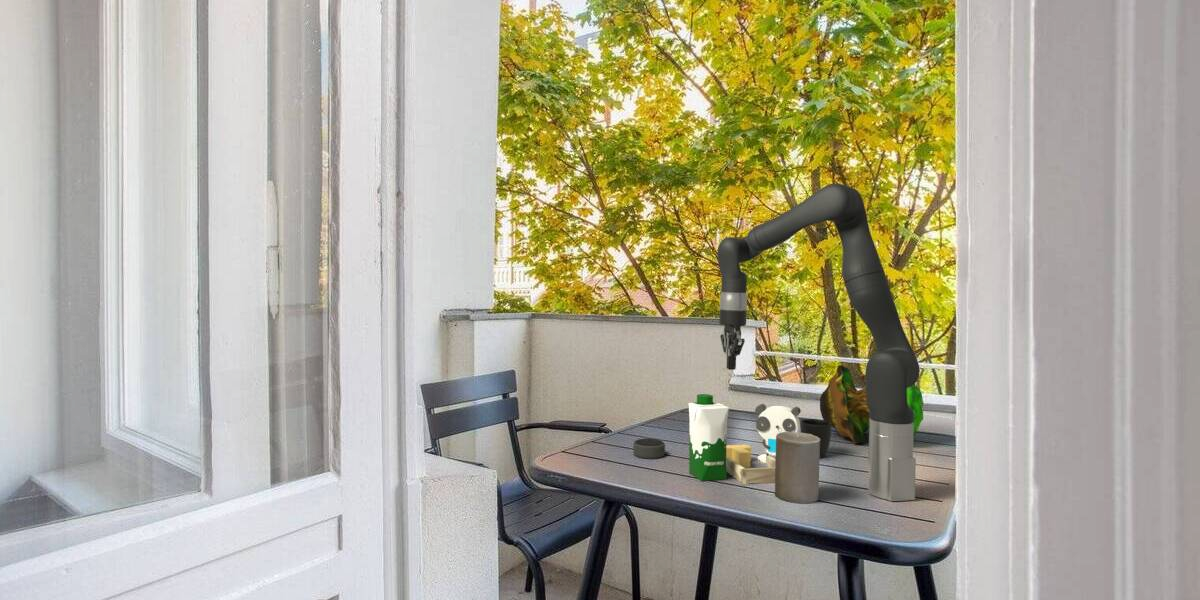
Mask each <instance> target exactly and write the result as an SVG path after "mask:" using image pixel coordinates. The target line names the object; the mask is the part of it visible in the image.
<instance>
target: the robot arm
mask: <svg viewBox="0 0 1200 600" xmlns="http://www.w3.org/2000/svg"><path fill="white" fill-rule="evenodd" d="M827 221H829V222H832V223H833V224H834V226H835V228H836V230H837V233H838V236H839V239H840V242H841V246H842V263H841V264H842V265H841V269H842V270H841V273H842V280H843V284H844V286H845V289H846V293H847V296H848V299H849V302H850V303H851V306H852V307H853V309H854V310H855V312H856V313H857V315H858V316H859V317H860V319H861V320H862V321H863V323H864V324H865V325H866V327H867V329H868V331H869V332H870V333H871V336H872V339H873V342H874V344H875V347H876V353H874V354H872V356H871V357H869V359H868V361H867V363H866V366H865V378H864V379H865V385H866V403H867V407H868V409H869V428H868V429H869V430H868V469H867V470H868V471H867V472H868V473H867V474H868V478H867V479H868V483H867V485H868V486H867V488H868V489H867V491H868V493H869V494H870V495H872V496H874V497H877V498H880V499H884V500H888V501H890V502H896V501H897V502H900V501H901V502H902V501H903V502H904V501H915V500H916V465H917V464H916V463H917V461H916V460H917V459H916V458H915V457H914V437H913V434H914V412H913V410H912V409H911V408H910V407H909V406H908V403H907V388H909V387H911V386H913V385H914V384H915V385H916V383H918V380H919V378H920V374H921V373H920V372H921V371H920V370H921V369H920V368H921V367H920V364H919V361H918V359H917V357H916V354H915V352H914V350H913V348H912V346H911V343H910V341H909V339H908V337H907V335H906V333H905V331H904V328H903V326H902V323H901V319H900V317H899V313H898V309H897V307H896V304H895V300H894V297H893V295H892V291H891V288H890V285H889V281H888V278H887V275H886V272H885V270H884V268H883V265H882V263H881V259H880V257H879V253H878V250H877V248H876V246H875V245H876V244H875V242H874V240H873V237H872V233H871V231H870V225H869V222H868V221H869V220H868V218H867V212H866V207H865V202H864V199H863V197H862V195H861V193H860V192H859V191H858V190H857V189H856V188H854V187H852V186H848V185H845V184H842V183H835V182H834V183H830V184H826V185H825V186H823V187H822V188H820V189H817V191H815V192H813V193H812V194H811V195H810V196H808V197H807V198H806V199H804V200H803V201H801V202H800V203H798V204H796V205H795V206H794V207H792V208H790V209H789V210H787V211H785V212H783V213H781V214H779V215H778V216H775V217H774V218H771V219H769V220H766V221H764V222H763V223H761V224H758V225H757V226H755V227H753V228H751V229H750V230H749V231H748V233H747V235H746V236H743V237H732V236H729V237H725V238H723V239H722V240H721V241H720V242H719V244H718V247H717V253H716V255H717V261H718V267H719V272H720V275H721V282H720V283H721V286H720V287H721V288H720V289H721V290H720V298H719V320H718V322H719V325H721V326H723V334H720V341H721V345H722V351H723V353H724V354H725V356H726V369H727V370H730V371H731V370H733V371H734V370H736V369H737V367H736V366H737V357H738V356H740V355H741V352H742V349H743V347H744V345H745V342H746V341H745V340H746V339H745V338H742V330H741V329H742V328H741V327H745V326H746V325H747V317H748V316H747V314H748V311H747V310H748V308H747V307H748V299H747V295H748V294H747V288H748V287H747V286H748V281H747V280H748V276H747V274H746V273H745V272H743V271H742V270H741V266H740V264H743V263H747V262H750V261H751V260H753V259H755V258H756V257H757V256H759V255H760V254H761V253H763V252H765V251H768V250H771V249H772V248H775V247H776V246H777V247H778V246H779V245H781V244H783V243H784V242H787V241H788V240H790V239H791V238H793V236H794V235H796V234H797V233H798V232H800V231H801V230H804V229H805V228H807V227H809V226H813V225H815V224H819V223H822V222H827Z"/></svg>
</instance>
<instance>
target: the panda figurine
mask: <svg viewBox="0 0 1200 600" xmlns="http://www.w3.org/2000/svg"><path fill="white" fill-rule="evenodd" d="M801 411H802V410H801V408H800V407H799V406H794V407H793V408H790V407H787V406H783V405H773V406H769V407H767V406H766V404H765V403H761V404H759V405H758V406H756V407H755V409H754V412H755V414H756V416H757V415H758V418H757V420H756V423H755V426H756V427H755V428H756V430H757V432H758V433H759V436H761V438H762V439H763V440H762V443H761V444H762V445H763V447H764V448H765V454H764V453H763V454H760V455H758V456H757V460H758V461H759V460H760V461H761V462H760V461H759V462H760V463H762V462H763V463H762V464H764V463H766V456H771V457H772V458H774V459H775V458H776V435H777V434H778V433H782V432H797V431H798V432H799V431H800V428H801V425H800V418H799V415H800V414H801Z"/></svg>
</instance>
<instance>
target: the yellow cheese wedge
mask: <svg viewBox="0 0 1200 600" xmlns="http://www.w3.org/2000/svg"><path fill="white" fill-rule="evenodd" d="M726 458H731V459H732V460H734V461H735V462H737V463H738V464H739V465H741V466H742V467H743V468H745V467H750V468H751V462H752V446H749V445H748V444H726ZM750 461H751V462H750ZM745 469H746V468H745Z"/></svg>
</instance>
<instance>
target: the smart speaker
mask: <svg viewBox="0 0 1200 600" xmlns="http://www.w3.org/2000/svg"><path fill="white" fill-rule="evenodd" d="M632 447H633V450H632V451H633V455H634V456H635V457H637V458H641V459H645V460H655V459H660V458H663V456H665V453H666V444H665V443H664V441H663V440H661V439H656V438H640V439H636V440H635V441H633V445H632Z"/></svg>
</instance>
